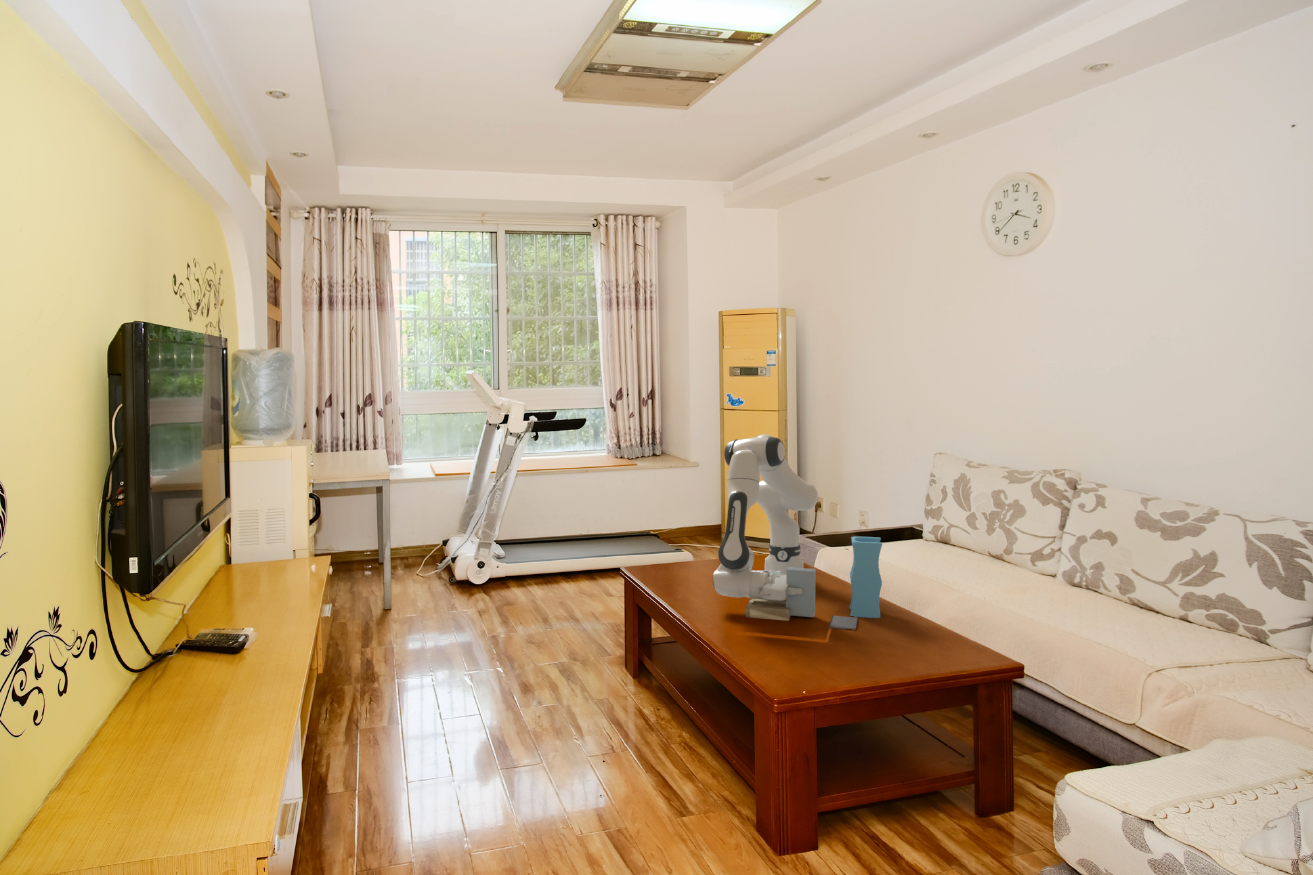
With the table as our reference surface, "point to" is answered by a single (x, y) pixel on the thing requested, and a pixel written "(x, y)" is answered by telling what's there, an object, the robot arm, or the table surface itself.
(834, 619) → the felt pad
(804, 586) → the cover plate
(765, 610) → the birch box
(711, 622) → the table surface
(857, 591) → the vase
